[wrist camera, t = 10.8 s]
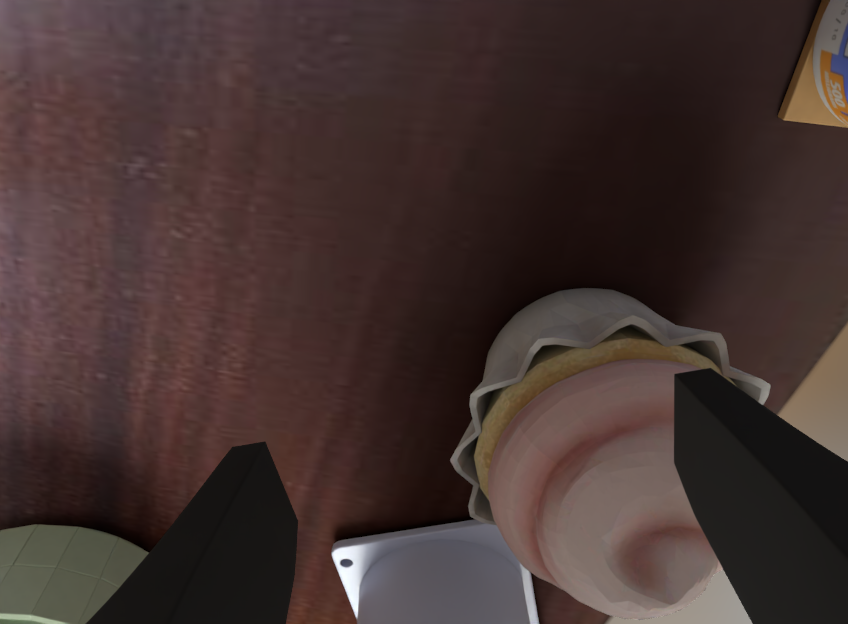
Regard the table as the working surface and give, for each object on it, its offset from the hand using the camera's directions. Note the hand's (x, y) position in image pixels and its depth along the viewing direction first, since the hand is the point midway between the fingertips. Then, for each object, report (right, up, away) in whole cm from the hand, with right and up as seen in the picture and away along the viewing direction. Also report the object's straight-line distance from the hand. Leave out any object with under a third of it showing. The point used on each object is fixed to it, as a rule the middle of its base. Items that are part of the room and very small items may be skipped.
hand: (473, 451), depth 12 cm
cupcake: (+4, +1, +12) cm, 13 cm away
